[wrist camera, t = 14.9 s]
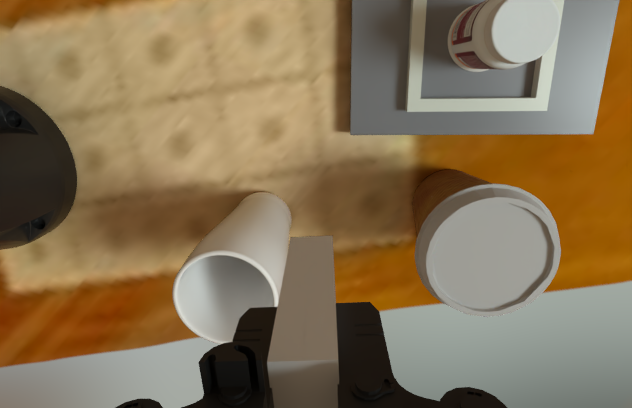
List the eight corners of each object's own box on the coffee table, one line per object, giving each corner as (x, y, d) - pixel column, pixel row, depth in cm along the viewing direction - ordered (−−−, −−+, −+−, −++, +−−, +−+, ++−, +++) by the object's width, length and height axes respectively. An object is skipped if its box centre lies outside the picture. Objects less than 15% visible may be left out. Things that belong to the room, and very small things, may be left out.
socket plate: (349, 132, 37) (350, 136, 35) (352, -63, 32) (353, -73, 30) (583, 131, 36) (600, 135, 34) (620, -70, 31) (643, -81, 29)
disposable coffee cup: (418, 264, 41) (449, 341, 29) (378, 179, 38) (395, 227, 27) (514, 225, 39) (587, 290, 28) (478, 133, 37) (542, 163, 25)
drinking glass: (244, 170, 39) (190, 232, 24) (311, 200, 39) (297, 277, 25) (219, 232, 41) (156, 322, 27) (283, 260, 41) (255, 362, 27)
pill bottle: (519, 52, 33) (577, 48, 25) (460, 79, 34) (499, 83, 26) (500, -9, 32) (555, -33, 24) (440, 21, 33) (473, 6, 25)
